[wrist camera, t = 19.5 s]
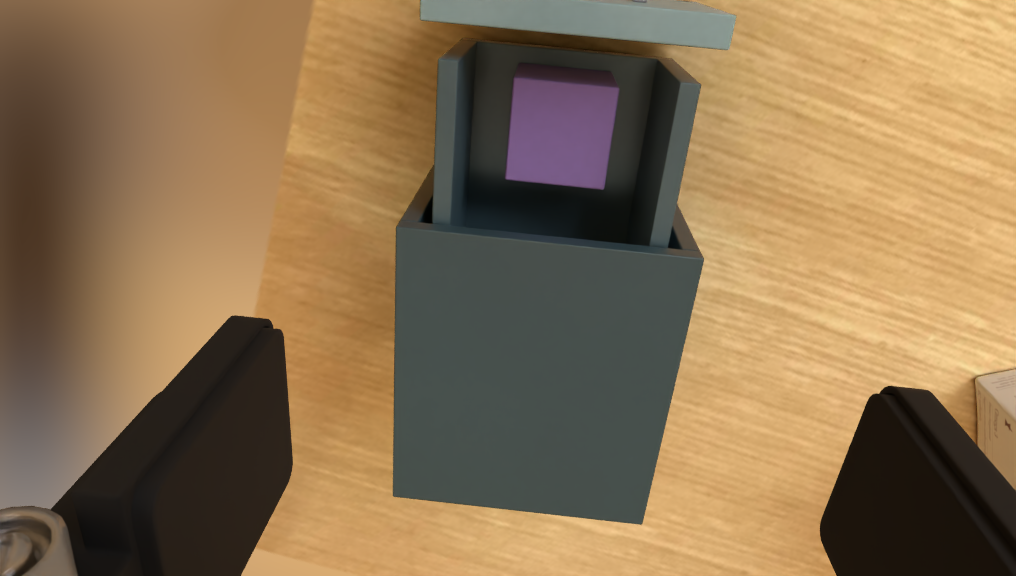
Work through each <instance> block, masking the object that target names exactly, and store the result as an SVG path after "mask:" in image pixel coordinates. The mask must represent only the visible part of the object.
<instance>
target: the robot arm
mask: <svg viewBox="0 0 1016 576" xmlns="http://www.w3.org/2000/svg"><path fill="white" fill-rule="evenodd" d="M292 465H293V457H292V443H291V430H290V416H289V402H288V388H287V374H286V361H285V347H284V336H283V333H282V331H281V330H280V329H273V325H272V322H271V321H270V320H269V319H263V318H254V317H244V316H231V317H230V318H229V319H228V320H227V321H226V322H225V323H224V324H223V325H222V326H221V327H220V329H219V330H218V331H217V332H216V333H215V334H214V335H213V336H212V337H211V338H210V339H209V341H208V342H207V343H206V344H205V345H204V346H203V347H202V348H201V349H200V350H199V352H198V353H197V354H196V355H195V356H194V357H193V358H192V359H191V360H190V361H189V362H188V364H187V365H186V366H185V367H184V368H183V369H182V370H181V371H180V372H179V374H177V376H176V377H175V378H174V379H173V380H172V381H171V382H170V383H169V384H168V386H167V387H166V388H165V389H164V390H163V391H162V392H160V393H159V394H157V395H156V396H155V397H154V398H153V399H152V400H151V401H150V402H149V403H148V404H147V405H146V406H145V407H144V408H143V410H142V411H141V412H140V413H139V414H138V415H137V416H136V417H135V418H134V419H133V420H132V422H131V423H130V424H129V425H128V426H127V427H126V428H125V429H124V430H123V431H122V432H121V433H120V435H119V436H118V437H117V438H116V439H115V440H114V441H113V442H112V443H111V444H110V446H108V448H107V449H106V450H105V451H104V452H103V453H102V454H101V455H100V456H99V457H98V458H97V460H96V461H95V462H94V463H93V464H92V465H91V466H90V467H89V468H88V469H87V471H86V472H85V473H84V474H83V475H82V476H81V477H80V478H79V479H78V480H77V481H76V482H75V484H74V485H73V486H72V487H71V488H70V489H69V490H68V491H67V492H66V493H65V494H64V495H63V497H62V498H61V499H60V500H59V501H58V502H57V503H56V504H55V505H54V506H53V507H52V509H51V510H50V509H46V508H41V507H35V506H22V507H10V508H5V509H1V510H0V576H241V574H242V572H243V570H244V568H245V566H246V564H247V562H248V560H249V558H250V556H251V554H252V552H253V551H254V549H255V547H256V545H257V543H258V541H259V539H260V537H261V535H262V533H263V531H264V529H265V527H266V525H267V523H268V521H269V519H270V517H271V515H272V514H273V512H274V510H275V508H276V506H277V504H278V502H279V500H280V498H281V496H282V494H283V492H284V490H285V488H286V486H287V484H288V482H289V479H290V476H291V472H292ZM820 536H821V541H822V544H823V546H824V549H825V551H826V553H827V555H828V558H829V560H830V562H831V564H832V566H833V569H834V571H835V573H836V575H837V576H1016V490H1015V489H1014V488H1013V487H1012V486H1011V484H1010V483H1009V482H1008V481H1007V480H1006V479H1005V477H1004V476H1003V475H1002V474H1001V473H1000V472H999V470H998V469H997V468H996V467H995V466H994V465H993V463H992V462H991V461H990V460H989V459H988V458H987V456H986V455H985V454H984V453H983V452H982V451H981V449H980V448H979V447H978V446H977V445H976V444H975V442H974V441H973V440H972V439H971V438H970V437H969V435H968V434H967V433H966V432H965V431H964V430H963V428H962V427H961V426H960V425H959V424H958V423H957V421H956V420H955V419H954V418H953V417H952V416H951V414H950V413H949V412H948V411H947V410H946V409H945V407H944V406H943V405H942V404H941V403H940V402H939V401H938V399H937V398H936V397H935V396H934V395H933V394H932V393H931V392H930V391H928V390H923V389H914V388H905V387H895V386H888V387H885V388H884V389H883V390H882V391H881V392H880V394H873V395H872V396H871V397H870V398H869V400H868V401H867V404H866V406H865V409H864V411H863V414H862V417H861V419H860V422H859V424H858V427H857V429H856V432H855V434H854V437H853V440H852V442H851V445H850V447H849V450H848V452H847V455H846V457H845V460H844V463H843V465H842V468H841V470H840V473H839V475H838V478H837V481H836V483H835V486H834V488H833V491H832V493H831V496H830V498H829V501H828V504H827V506H826V509H825V511H824V514H823V516H822V519H821V523H820Z"/></svg>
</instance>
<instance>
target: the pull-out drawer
mask: <svg viewBox="0 0 1016 576" xmlns="http://www.w3.org/2000/svg"><path fill="white" fill-rule="evenodd" d="M420 20H422V21H432V22H442V23H452V24H463V25H473V26H483V27H493V28H504V29H514V30H524V31H535V32H545V33H555V34H566V35H576V36H586V37H596V38H607V39H617V40H627V41H638V42H648V43H658V44H669V45H679V46H689V47H700V48H710V49H720V50H729V48H730V43H731V39H732V34H733V30H734V25H735V20H736V15H733V14H730V13H727V12H724V11H721V10H718V9H715V8H712V7H709V6H706V5H703V4H700V3H697V2H689V1H678V0H420ZM519 63H528V64H538V65H548V66H559V67H569V68H579V69H589V70H599V71H609V72H612V74H613V76H614V78H615V80H616V82H617V85H618V87H619V96H618V103H617V109H616V116H615V122H614V129H613V135H612V142H611V148H610V155H609V161H608V168H607V174H606V180H605V187H604V189H602V190H601V189H591V188H581V187H571V186H562V185H552V184H542V183H532V182H523V181H513V180H506V179H505V169H506V157H507V146H508V134H509V122H510V111H511V99H512V87H513V78H514V76H515V73H516V70H517V68H518V65H519ZM700 88H701V84H700V83H699V82H697V81H696V80H695V79H694V78H693V77H692V76H691V75H690V74H689V73H687V72H686V71H685V70H684V69H683V68H682V67H681V66H680V65H678V64H677V63H676V62H675V61H674V60H673V59H672V58H663V57H652V56H642V55H632V54H622V53H611V52H601V51H591V50H581V49H570V48H560V47H550V46H540V45H529V44H519V43H509V42H498V41H488V40H478V39H468V38H462V39H461V40H460V41H459V42H458V43H457V44H455V45H454V46H453V47H452V48H451V49H450V50H448V51H447V52H446V53H445V54H444V55H443V56H441V57H440V58H439V59H438V74H437V101H436V128H435V155H434V182H433V209H432V224H439V225H448V226H458V227H468V228H477V229H487V230H497V231H506V232H516V233H525V234H535V235H545V236H554V237H564V238H574V239H583V240H593V241H603V242H612V243H622V244H631V245H641V246H651V247H660V248H668V244H669V239H670V234H671V229H672V224H673V219H674V215H675V210H676V205H677V200H678V195H679V190H680V185H681V181H682V176H683V171H684V166H685V161H686V156H687V151H688V147H689V142H690V137H691V132H692V127H693V122H694V117H695V113H696V108H697V103H698V98H699V93H700Z"/></svg>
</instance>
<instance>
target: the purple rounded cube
mask: <svg viewBox="0 0 1016 576" xmlns="http://www.w3.org/2000/svg"><path fill="white" fill-rule="evenodd" d="M618 96H619V87H618V85H617V82H616V80H615V78H614V76H613V74H612V72H609V71H599V70H589V69H579V68H569V67H559V66H548V65H538V64H528V63H519V65H518V68H517V70H516V73H515V76H514V78H513V87H512V99H511V111H510V122H509V134H508V146H507V157H506V169H505V179H506V180H513V181H523V182H532V183H542V184H552V185H562V186H571V187H581V188H591V189H601V190H602V189H604V187H605V180H606V174H607V168H608V161H609V155H610V148H611V142H612V135H613V129H614V122H615V116H616V109H617V103H618Z"/></svg>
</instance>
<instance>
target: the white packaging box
mask: <svg viewBox="0 0 1016 576" xmlns="http://www.w3.org/2000/svg"><path fill="white" fill-rule="evenodd" d="M975 386H976V398H977V415H978V447H979V448H980V449H981V451H982V452H983V453H984V454H985V455H986V456H987V458H988V459H989V460H990V461H991V462H992V463H993V465H994V466H995V467H996V468H997V469H998V470H999V472H1000V473H1001V474H1002V475H1003V476H1004V477H1005V479H1006V480H1007V481H1008V482H1009V483H1010V484H1011V486H1012V487H1013V488H1014V489H1015V490H1016V369H1013V370H1008V371H1003V372H998V373H993V374H988V375H984V376H980V377H977V378H976V379H975Z"/></svg>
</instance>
